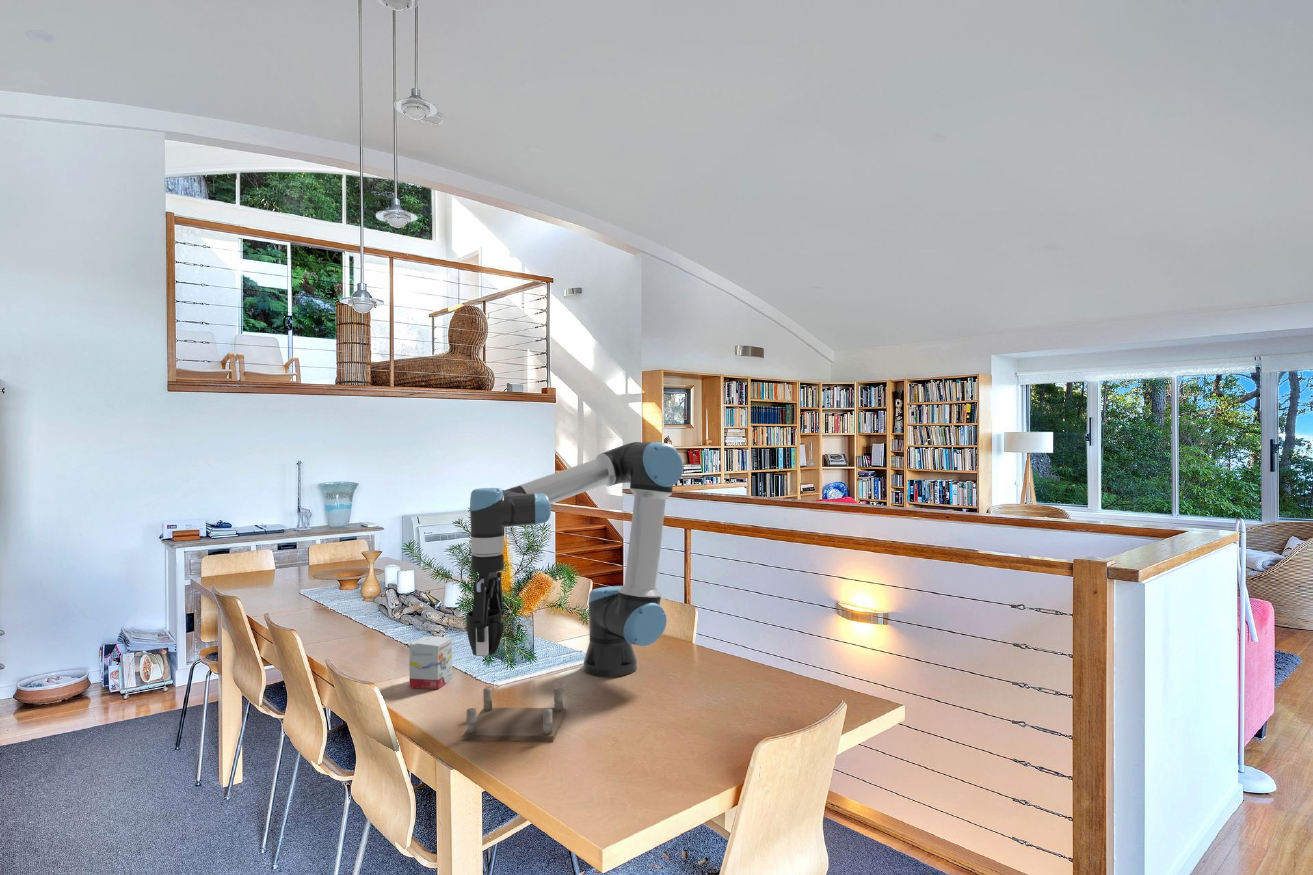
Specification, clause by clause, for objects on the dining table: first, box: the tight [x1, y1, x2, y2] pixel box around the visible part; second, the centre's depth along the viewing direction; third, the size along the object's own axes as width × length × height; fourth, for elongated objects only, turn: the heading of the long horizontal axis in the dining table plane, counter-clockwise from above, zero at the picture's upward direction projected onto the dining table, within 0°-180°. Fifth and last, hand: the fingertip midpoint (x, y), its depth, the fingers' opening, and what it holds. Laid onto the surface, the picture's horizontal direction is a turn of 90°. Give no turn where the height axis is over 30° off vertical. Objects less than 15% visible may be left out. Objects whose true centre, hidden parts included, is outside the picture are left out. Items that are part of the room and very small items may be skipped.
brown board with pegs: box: [462, 687, 567, 742], centre depth 169 cm, size 20×16×6 cm
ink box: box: [408, 635, 453, 690], centre depth 198 cm, size 9×9×12 cm
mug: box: [465, 609, 505, 657], centre depth 173 cm, size 8×12×10 cm
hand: (489, 648), depth 174 cm, fingers closed on mug, 9 cm apart
